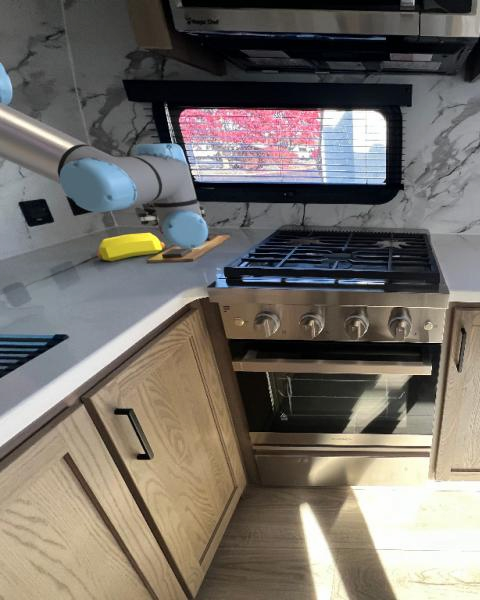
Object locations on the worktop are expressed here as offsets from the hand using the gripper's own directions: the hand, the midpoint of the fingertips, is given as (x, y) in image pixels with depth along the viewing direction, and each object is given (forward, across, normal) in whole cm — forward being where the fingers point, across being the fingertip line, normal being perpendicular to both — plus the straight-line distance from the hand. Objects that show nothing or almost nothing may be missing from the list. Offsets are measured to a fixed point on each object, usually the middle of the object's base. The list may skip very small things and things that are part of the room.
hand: (166, 205), depth 92 cm
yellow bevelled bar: (+22, -12, -18) cm, 31 cm away
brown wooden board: (+18, +5, -17) cm, 26 cm away
